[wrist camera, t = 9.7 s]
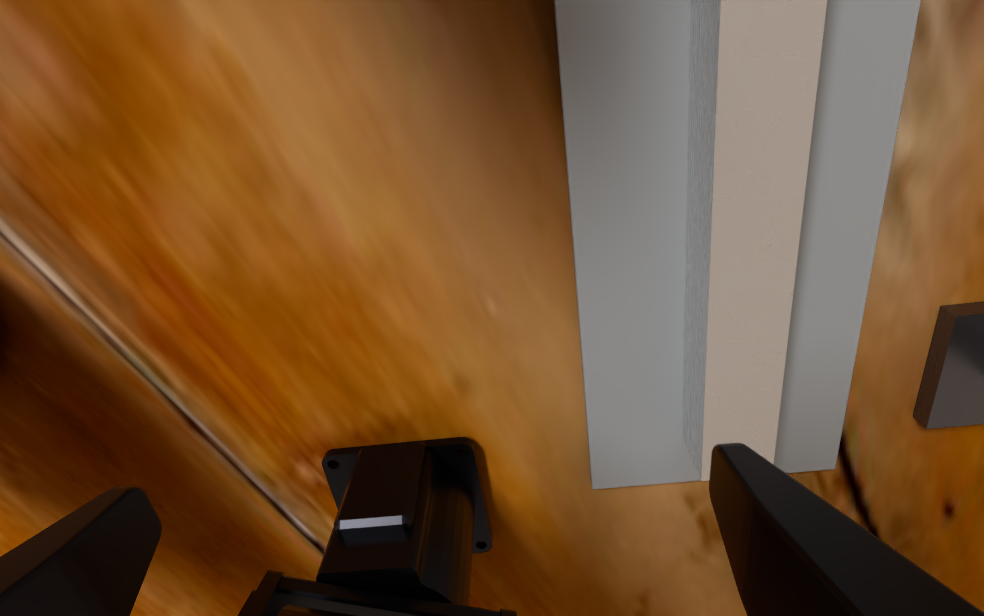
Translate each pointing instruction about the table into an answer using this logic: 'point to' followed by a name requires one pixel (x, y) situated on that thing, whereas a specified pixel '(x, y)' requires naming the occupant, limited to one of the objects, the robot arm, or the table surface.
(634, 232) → the mat
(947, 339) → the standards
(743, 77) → the rail
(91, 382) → the table surface
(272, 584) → the robot arm
